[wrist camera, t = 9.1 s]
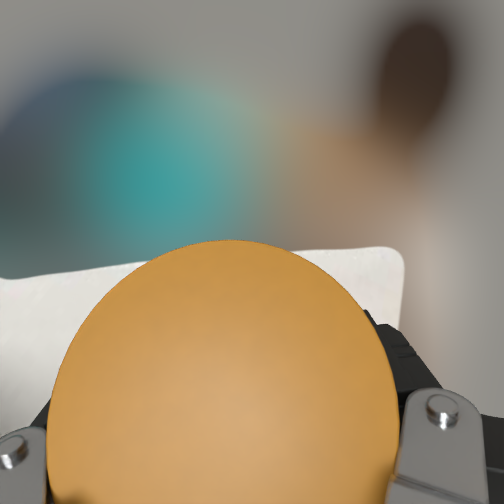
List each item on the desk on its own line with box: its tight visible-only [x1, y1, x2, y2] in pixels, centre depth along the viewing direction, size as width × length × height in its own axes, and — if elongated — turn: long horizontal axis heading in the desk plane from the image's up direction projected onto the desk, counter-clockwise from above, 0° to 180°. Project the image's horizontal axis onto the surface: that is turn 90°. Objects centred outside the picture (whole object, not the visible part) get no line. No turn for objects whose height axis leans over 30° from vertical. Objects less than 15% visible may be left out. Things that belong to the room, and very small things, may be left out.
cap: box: [46, 240, 400, 504], centre depth 10 cm, size 6×6×8 cm
